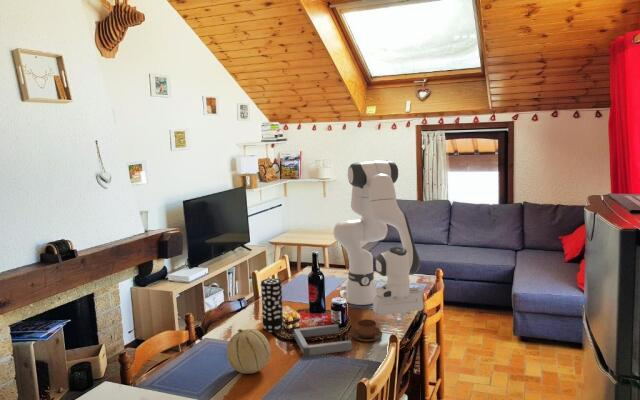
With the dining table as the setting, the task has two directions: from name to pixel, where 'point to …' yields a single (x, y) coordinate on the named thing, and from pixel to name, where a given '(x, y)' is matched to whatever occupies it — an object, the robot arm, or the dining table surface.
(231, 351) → the cantaloupe
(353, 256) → the robot arm
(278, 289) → the white-spotted black cylinder
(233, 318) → the dining table surface
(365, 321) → the cup and saucer
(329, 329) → the grey u-shaped bar
